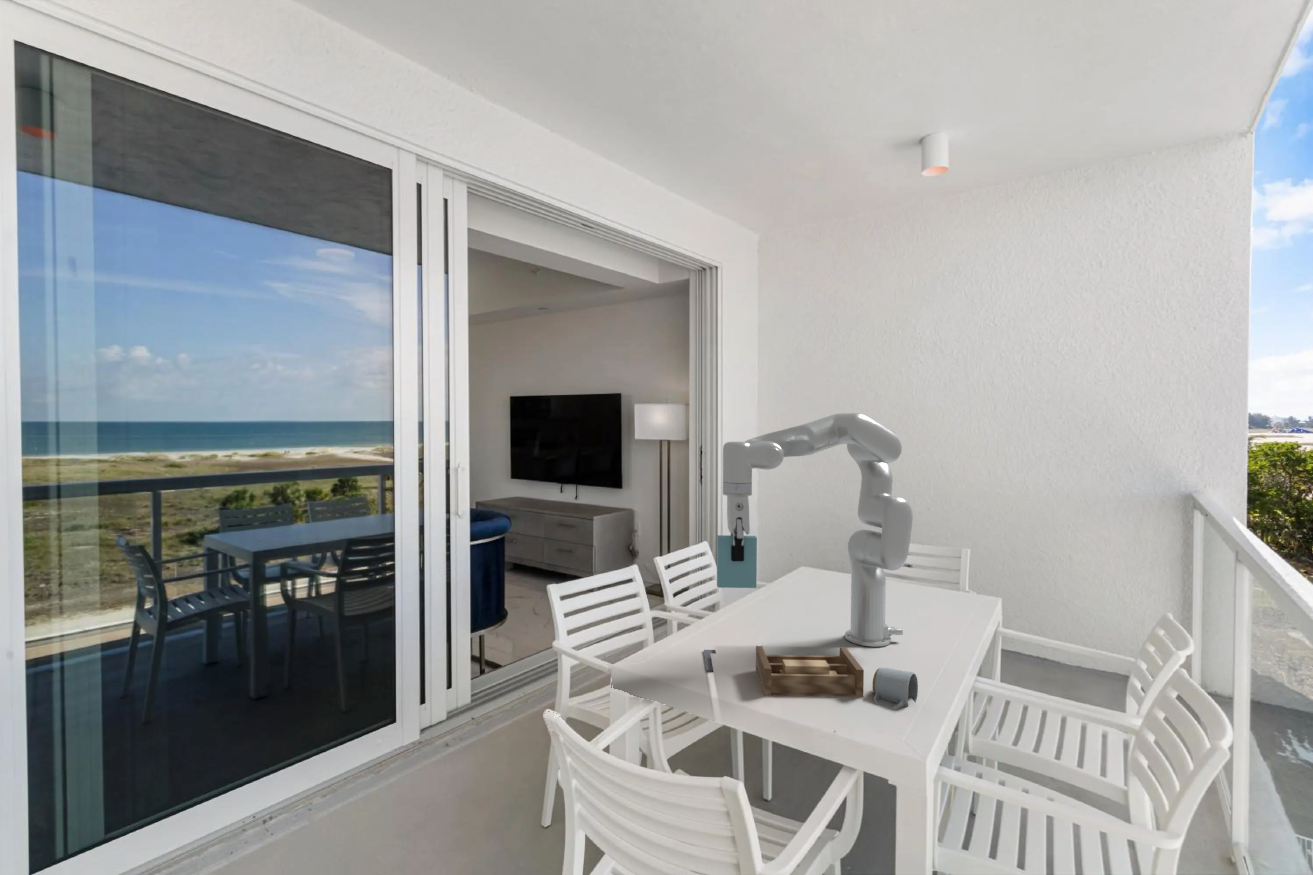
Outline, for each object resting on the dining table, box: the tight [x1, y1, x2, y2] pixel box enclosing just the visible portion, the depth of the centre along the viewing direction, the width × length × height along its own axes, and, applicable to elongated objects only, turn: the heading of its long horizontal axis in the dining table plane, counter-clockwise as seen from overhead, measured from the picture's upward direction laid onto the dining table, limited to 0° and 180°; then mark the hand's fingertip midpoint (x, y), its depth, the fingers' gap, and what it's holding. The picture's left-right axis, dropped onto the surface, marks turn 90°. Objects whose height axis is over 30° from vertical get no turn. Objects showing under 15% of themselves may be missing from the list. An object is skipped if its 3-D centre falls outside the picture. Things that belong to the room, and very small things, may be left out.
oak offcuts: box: [779, 660, 837, 674], centre depth 142 cm, size 13×4×6 cm, turn 89°
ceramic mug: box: [872, 667, 919, 710], centre depth 136 cm, size 11×8×8 cm
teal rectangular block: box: [716, 534, 758, 589], centre depth 160 cm, size 10×3×13 cm, turn 89°
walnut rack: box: [755, 645, 865, 698], centre depth 145 cm, size 22×14×8 cm, turn 89°
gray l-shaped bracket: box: [703, 649, 717, 673], centre depth 161 cm, size 16×14×1 cm
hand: (736, 558), depth 160 cm, fingers closed on teal rectangular block, 3 cm apart
